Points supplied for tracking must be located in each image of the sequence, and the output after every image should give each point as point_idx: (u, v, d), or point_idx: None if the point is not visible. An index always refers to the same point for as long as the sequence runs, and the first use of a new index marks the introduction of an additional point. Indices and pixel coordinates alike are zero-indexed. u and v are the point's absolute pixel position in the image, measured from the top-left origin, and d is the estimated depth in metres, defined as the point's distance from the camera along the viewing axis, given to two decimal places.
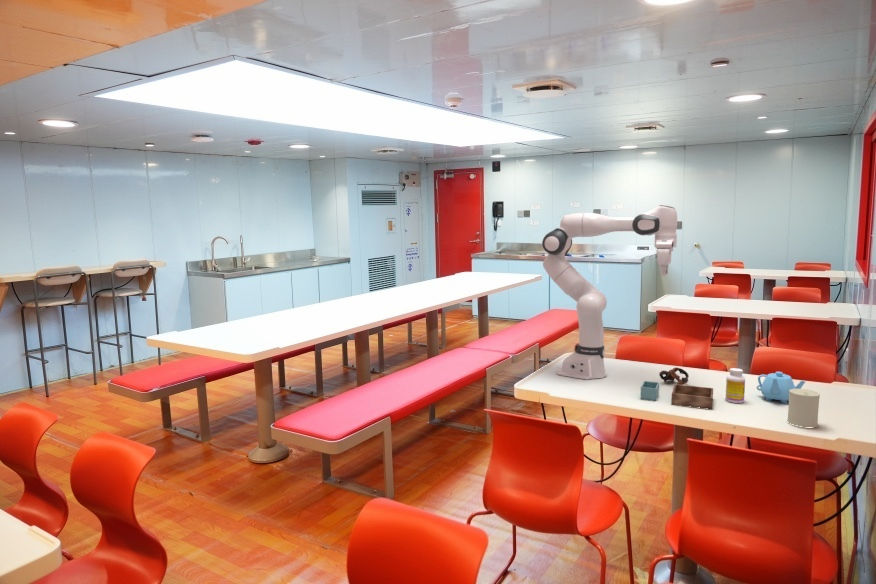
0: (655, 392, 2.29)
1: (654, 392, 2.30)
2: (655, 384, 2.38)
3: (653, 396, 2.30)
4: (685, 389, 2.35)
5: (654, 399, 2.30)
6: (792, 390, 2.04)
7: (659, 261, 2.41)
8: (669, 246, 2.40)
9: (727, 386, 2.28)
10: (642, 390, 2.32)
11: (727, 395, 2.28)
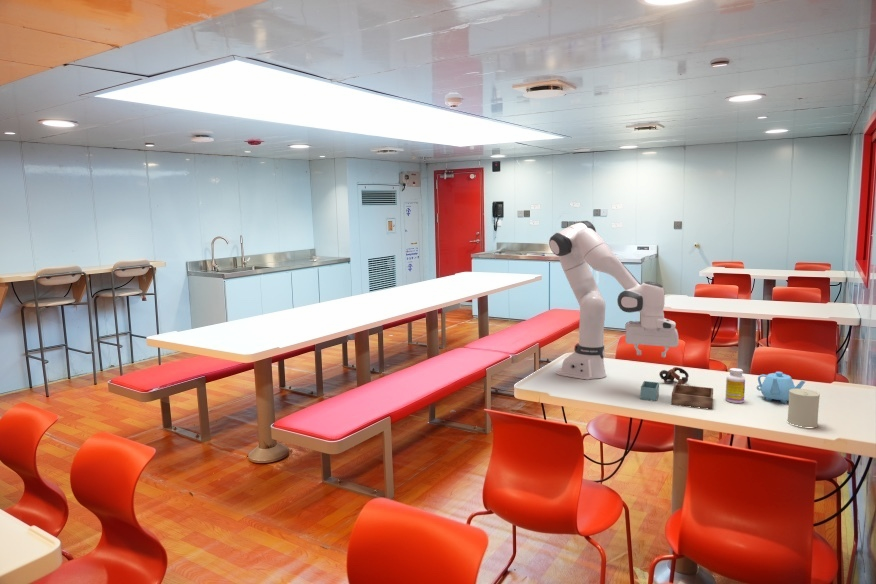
0: (655, 392, 2.29)
1: (654, 392, 2.30)
2: (655, 384, 2.38)
3: (653, 396, 2.30)
4: (685, 389, 2.35)
5: (654, 399, 2.30)
6: (792, 390, 2.04)
7: (678, 342, 2.27)
8: None
9: (727, 386, 2.28)
10: (642, 390, 2.32)
11: (727, 395, 2.28)
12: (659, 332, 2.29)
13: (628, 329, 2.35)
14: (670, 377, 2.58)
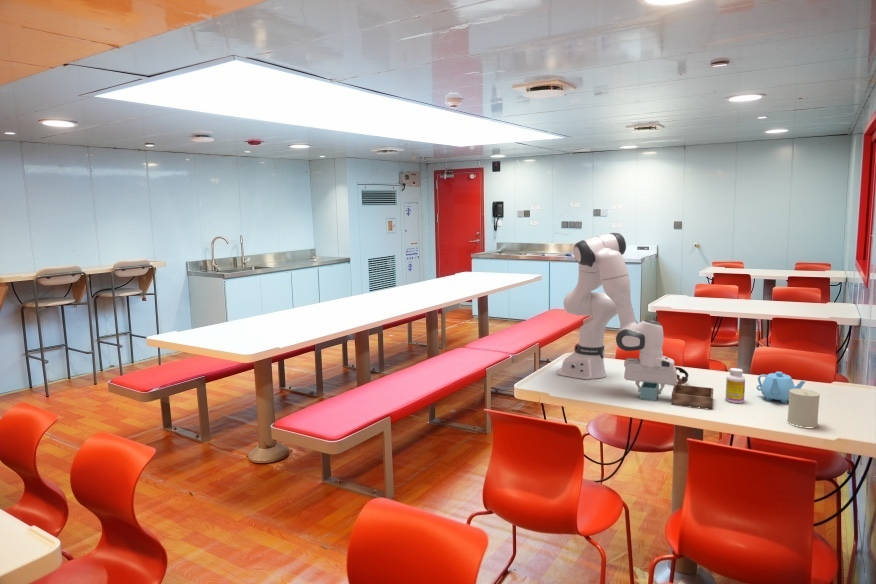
0: (655, 392, 2.29)
1: (654, 392, 2.30)
2: (655, 384, 2.38)
3: (653, 396, 2.30)
4: (685, 389, 2.35)
5: (654, 399, 2.30)
6: (792, 390, 2.04)
7: (676, 380, 2.29)
8: None
9: (727, 386, 2.28)
10: (642, 390, 2.32)
11: (727, 395, 2.28)
12: (658, 370, 2.31)
13: (627, 366, 2.36)
14: None
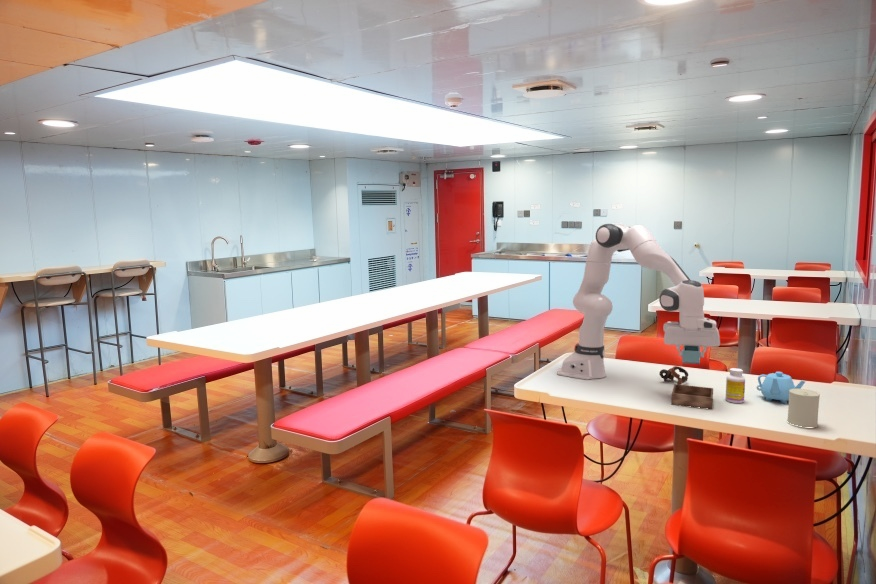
0: (698, 355, 2.21)
1: (697, 355, 2.21)
2: (696, 347, 2.30)
3: (696, 359, 2.22)
4: (685, 389, 2.35)
5: (697, 362, 2.22)
6: (792, 390, 2.04)
7: (719, 342, 2.21)
8: None
9: (727, 386, 2.28)
10: (684, 353, 2.23)
11: (727, 395, 2.28)
12: (700, 332, 2.23)
13: (666, 330, 2.28)
14: (670, 376, 2.60)
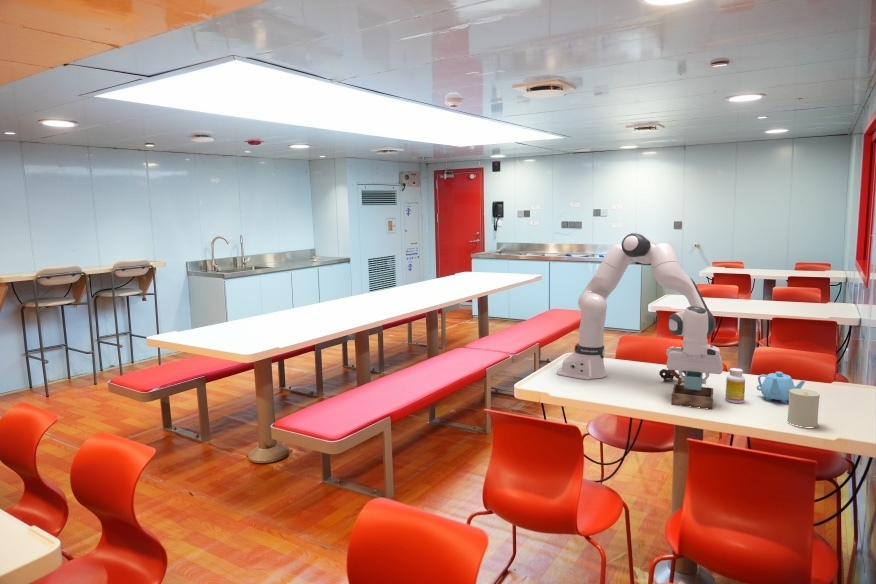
0: (700, 381, 2.22)
1: (699, 381, 2.22)
2: (698, 373, 2.30)
3: (698, 385, 2.22)
4: (685, 389, 2.35)
5: (699, 388, 2.22)
6: (792, 390, 2.04)
7: (722, 369, 2.21)
8: None
9: (727, 386, 2.28)
10: (686, 379, 2.24)
11: (727, 395, 2.28)
12: (703, 359, 2.23)
13: (669, 355, 2.29)
14: (669, 376, 2.60)
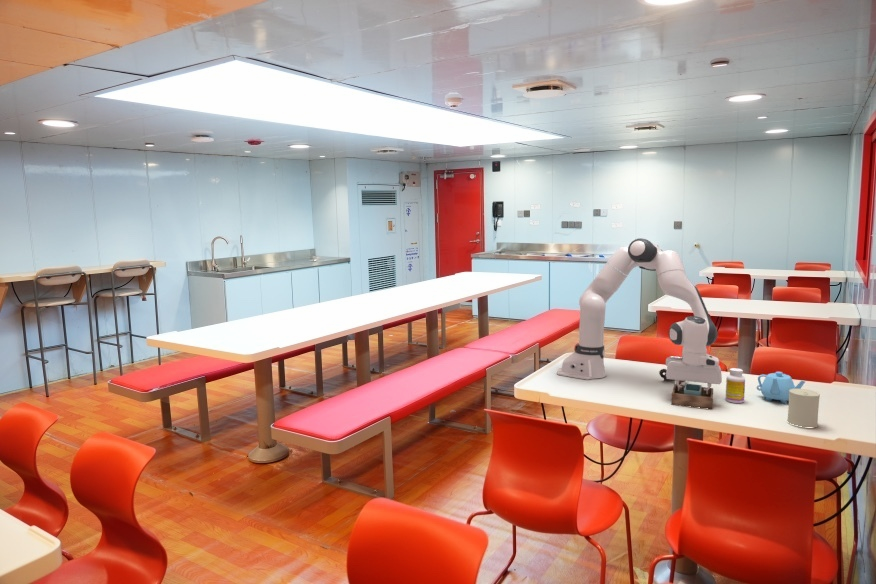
0: (699, 395, 2.22)
1: (698, 395, 2.22)
2: (697, 387, 2.31)
3: None
4: None
5: None
6: (792, 390, 2.04)
7: (721, 379, 2.22)
8: None
9: (727, 386, 2.28)
10: (685, 393, 2.24)
11: (727, 395, 2.28)
12: (702, 369, 2.24)
13: (669, 364, 2.29)
14: None
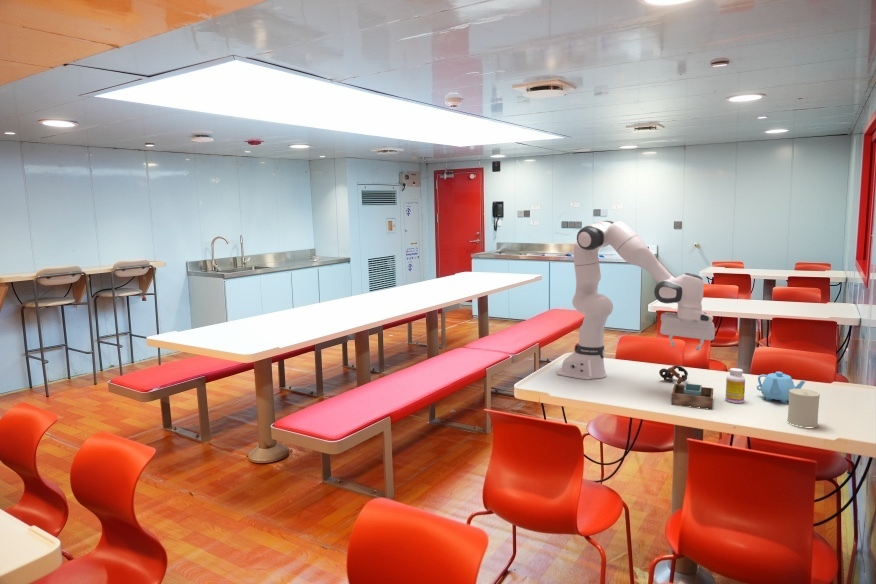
0: (699, 395, 2.22)
1: (698, 395, 2.22)
2: (697, 387, 2.31)
3: None
4: None
5: None
6: (792, 390, 2.04)
7: (714, 336, 2.25)
8: None
9: (727, 386, 2.28)
10: (685, 393, 2.24)
11: (727, 395, 2.28)
12: (696, 324, 2.27)
13: (663, 319, 2.33)
14: (669, 375, 2.61)
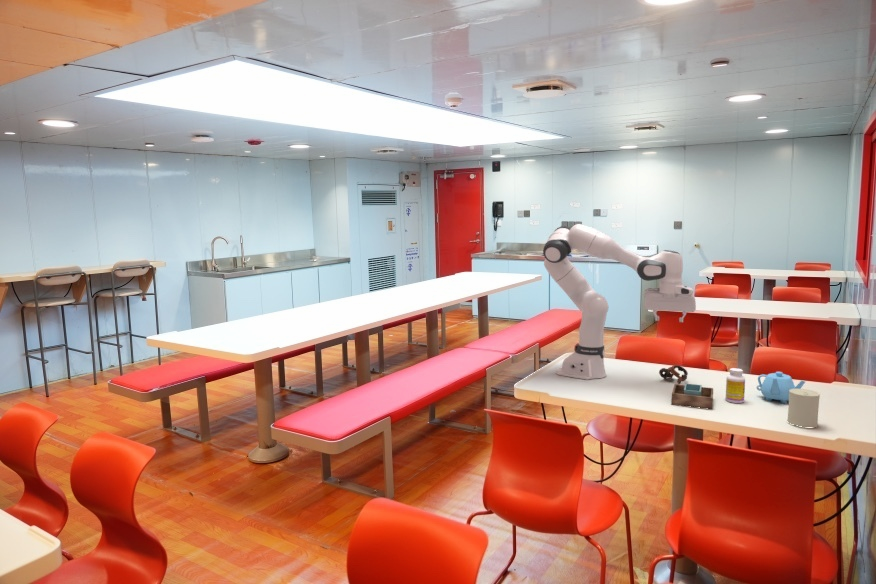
0: (699, 395, 2.22)
1: (698, 395, 2.22)
2: (697, 387, 2.31)
3: None
4: None
5: None
6: (792, 390, 2.04)
7: (695, 307, 2.38)
8: None
9: (727, 386, 2.28)
10: (685, 393, 2.24)
11: (727, 395, 2.28)
12: (677, 298, 2.40)
13: (647, 295, 2.45)
14: (669, 375, 2.62)
